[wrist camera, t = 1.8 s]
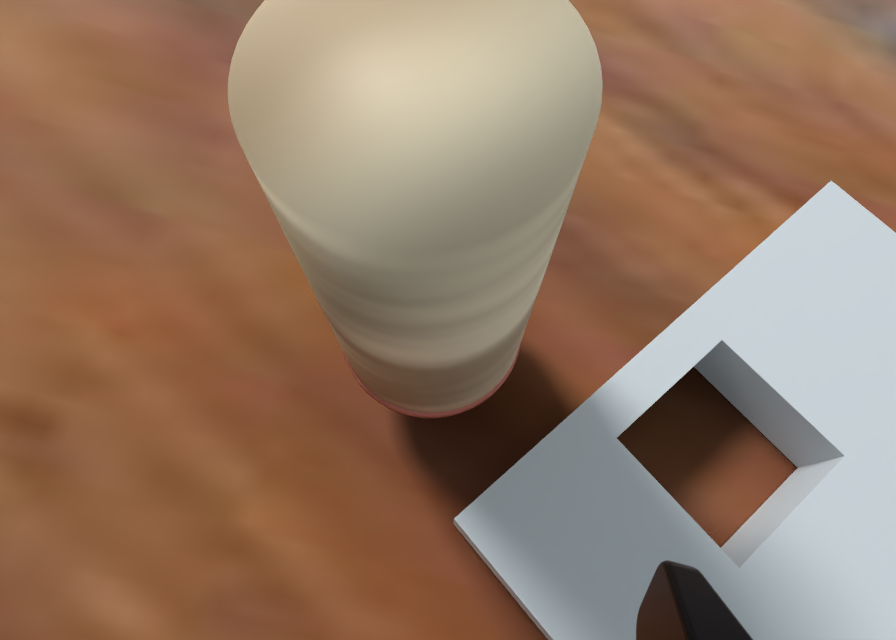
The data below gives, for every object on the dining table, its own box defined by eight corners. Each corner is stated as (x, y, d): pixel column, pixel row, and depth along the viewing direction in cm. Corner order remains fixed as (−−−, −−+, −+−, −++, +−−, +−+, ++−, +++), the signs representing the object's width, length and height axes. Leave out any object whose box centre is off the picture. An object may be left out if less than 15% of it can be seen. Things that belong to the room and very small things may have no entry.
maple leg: (546, 361, 21) (685, 91, 9) (422, 468, 20) (385, 325, 8) (442, 251, 22) (437, -115, 10) (320, 344, 21) (150, 55, 9)
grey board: (1084, 468, 20) (1170, 455, 18) (748, 885, 16) (800, 940, 14) (791, 219, 23) (831, 180, 21) (452, 523, 19) (453, 518, 17)
